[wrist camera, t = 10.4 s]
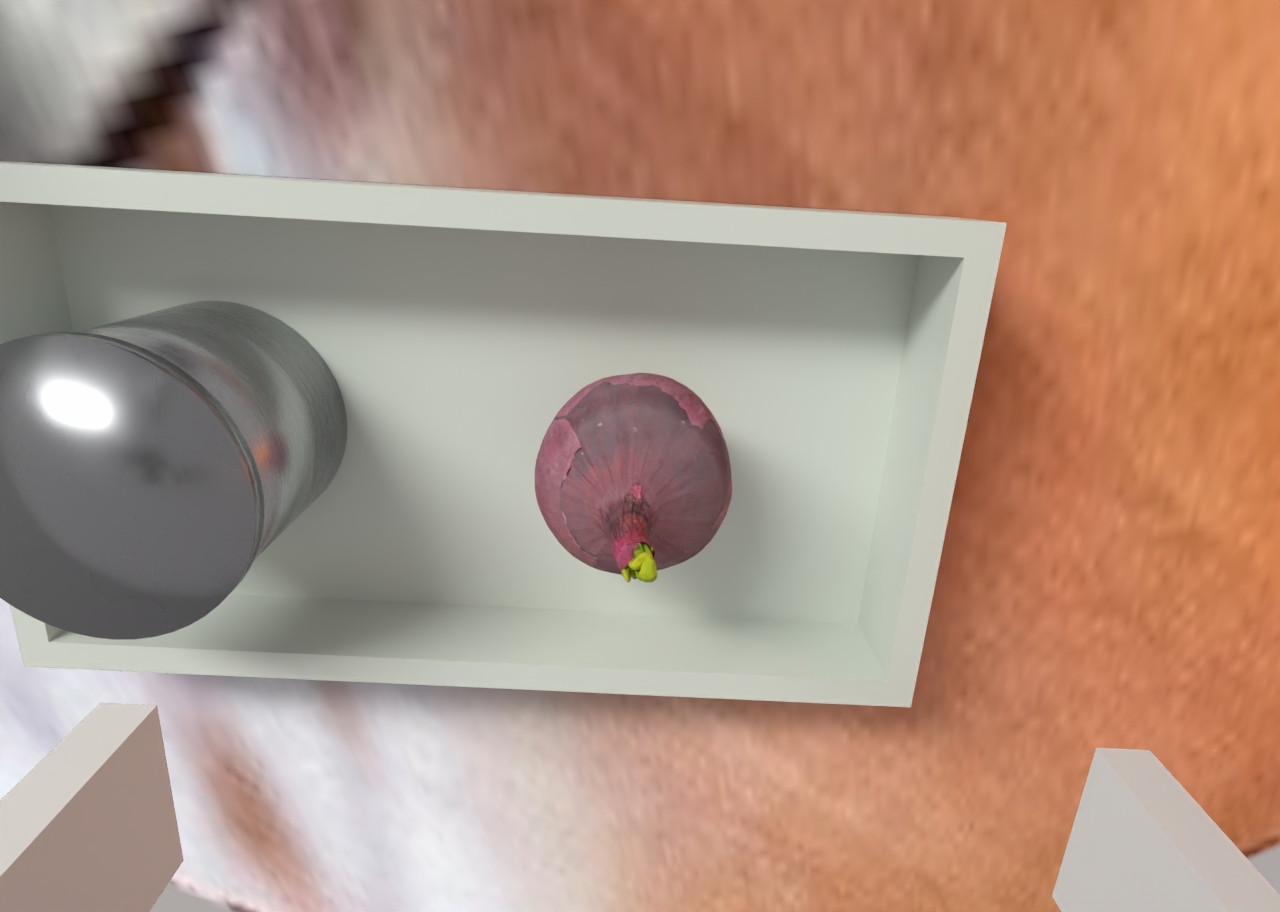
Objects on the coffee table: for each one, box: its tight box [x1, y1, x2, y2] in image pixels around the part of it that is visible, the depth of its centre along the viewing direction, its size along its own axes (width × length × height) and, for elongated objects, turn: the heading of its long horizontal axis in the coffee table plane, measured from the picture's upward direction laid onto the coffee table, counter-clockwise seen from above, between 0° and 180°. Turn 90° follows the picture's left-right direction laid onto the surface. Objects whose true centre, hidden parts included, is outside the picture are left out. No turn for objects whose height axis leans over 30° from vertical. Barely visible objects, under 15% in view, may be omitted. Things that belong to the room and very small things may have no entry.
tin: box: [0, 301, 347, 640], centre depth 24 cm, size 8×8×8 cm
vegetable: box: [535, 372, 732, 582], centre depth 23 cm, size 6×6×10 cm
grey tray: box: [0, 161, 1007, 707], centre depth 26 cm, size 16×30×4 cm, turn 87°
